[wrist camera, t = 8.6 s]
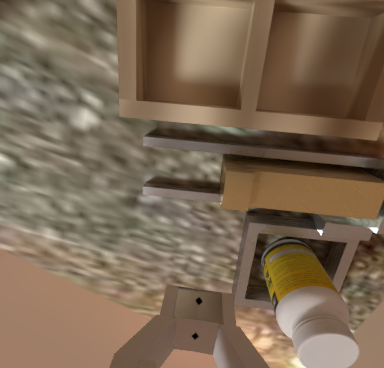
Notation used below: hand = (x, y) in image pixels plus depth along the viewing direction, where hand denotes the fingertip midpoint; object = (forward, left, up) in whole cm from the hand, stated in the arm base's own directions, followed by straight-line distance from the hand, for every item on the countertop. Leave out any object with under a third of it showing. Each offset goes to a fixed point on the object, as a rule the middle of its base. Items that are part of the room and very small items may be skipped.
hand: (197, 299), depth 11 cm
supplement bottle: (-9, +7, -13) cm, 18 cm away
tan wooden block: (-7, -2, -13) cm, 15 cm away
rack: (-2, -11, -13) cm, 17 cm away
